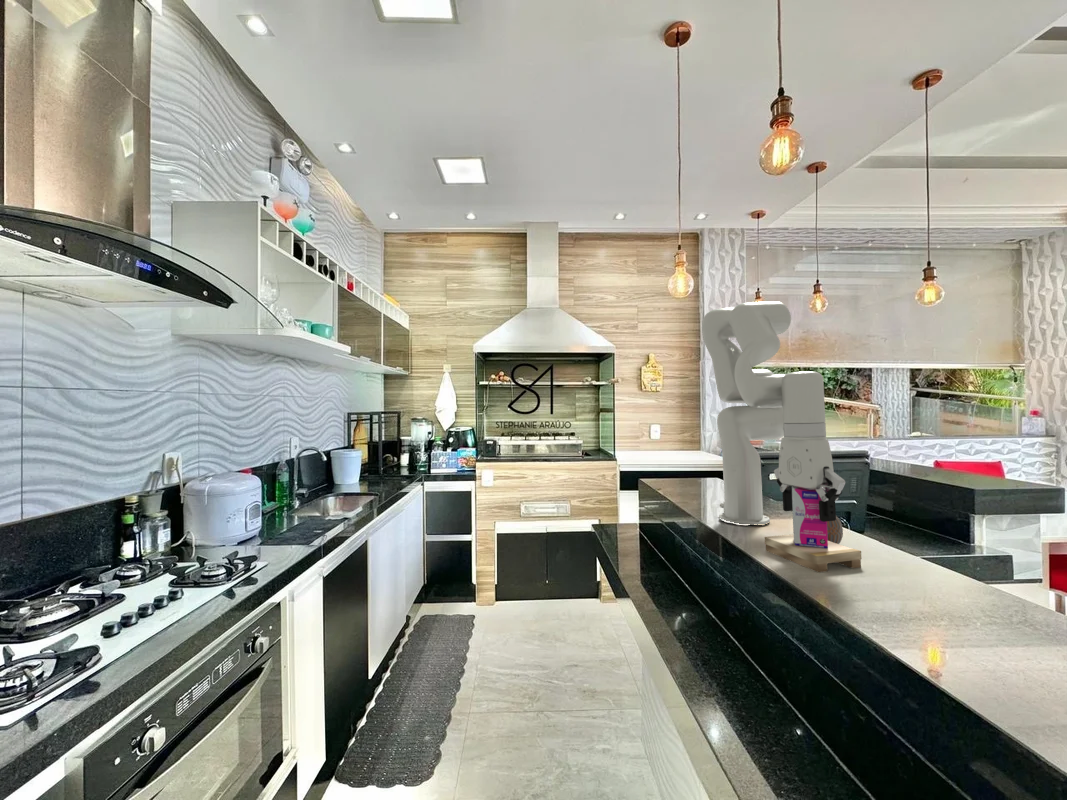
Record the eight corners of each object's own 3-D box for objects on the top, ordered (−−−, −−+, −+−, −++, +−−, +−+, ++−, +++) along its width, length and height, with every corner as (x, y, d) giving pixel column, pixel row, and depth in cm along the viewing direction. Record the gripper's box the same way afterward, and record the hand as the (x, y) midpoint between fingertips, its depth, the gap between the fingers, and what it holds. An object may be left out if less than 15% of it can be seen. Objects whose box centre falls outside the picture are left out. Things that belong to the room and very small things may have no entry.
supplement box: (794, 546, 92) (792, 489, 92) (793, 538, 97) (790, 484, 97) (828, 549, 89) (826, 490, 89) (825, 541, 94) (822, 485, 95)
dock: (765, 550, 99) (764, 536, 99) (804, 546, 101) (804, 532, 101) (817, 572, 85) (816, 555, 85) (862, 567, 87) (861, 550, 87)
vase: (800, 541, 105) (798, 503, 105) (831, 540, 105) (829, 502, 105) (818, 550, 98) (816, 509, 99) (851, 549, 98) (848, 508, 98)
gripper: (759, 431, 101) (763, 508, 101) (823, 434, 85) (828, 527, 84) (788, 429, 103) (792, 506, 102) (857, 432, 86) (861, 523, 86)
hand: (808, 515), depth 93 cm, fingers open, 9 cm apart
